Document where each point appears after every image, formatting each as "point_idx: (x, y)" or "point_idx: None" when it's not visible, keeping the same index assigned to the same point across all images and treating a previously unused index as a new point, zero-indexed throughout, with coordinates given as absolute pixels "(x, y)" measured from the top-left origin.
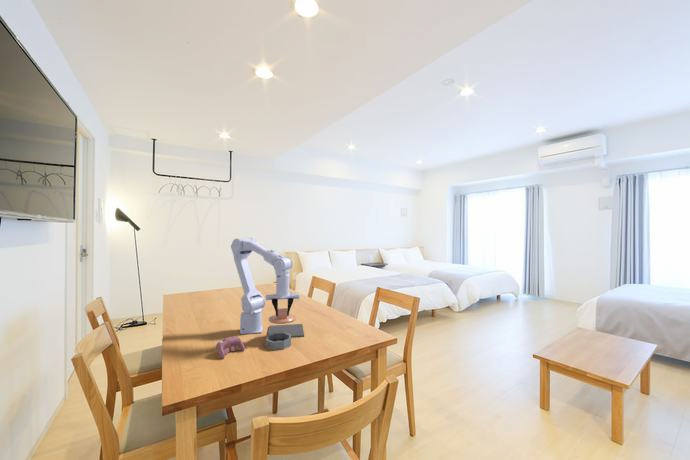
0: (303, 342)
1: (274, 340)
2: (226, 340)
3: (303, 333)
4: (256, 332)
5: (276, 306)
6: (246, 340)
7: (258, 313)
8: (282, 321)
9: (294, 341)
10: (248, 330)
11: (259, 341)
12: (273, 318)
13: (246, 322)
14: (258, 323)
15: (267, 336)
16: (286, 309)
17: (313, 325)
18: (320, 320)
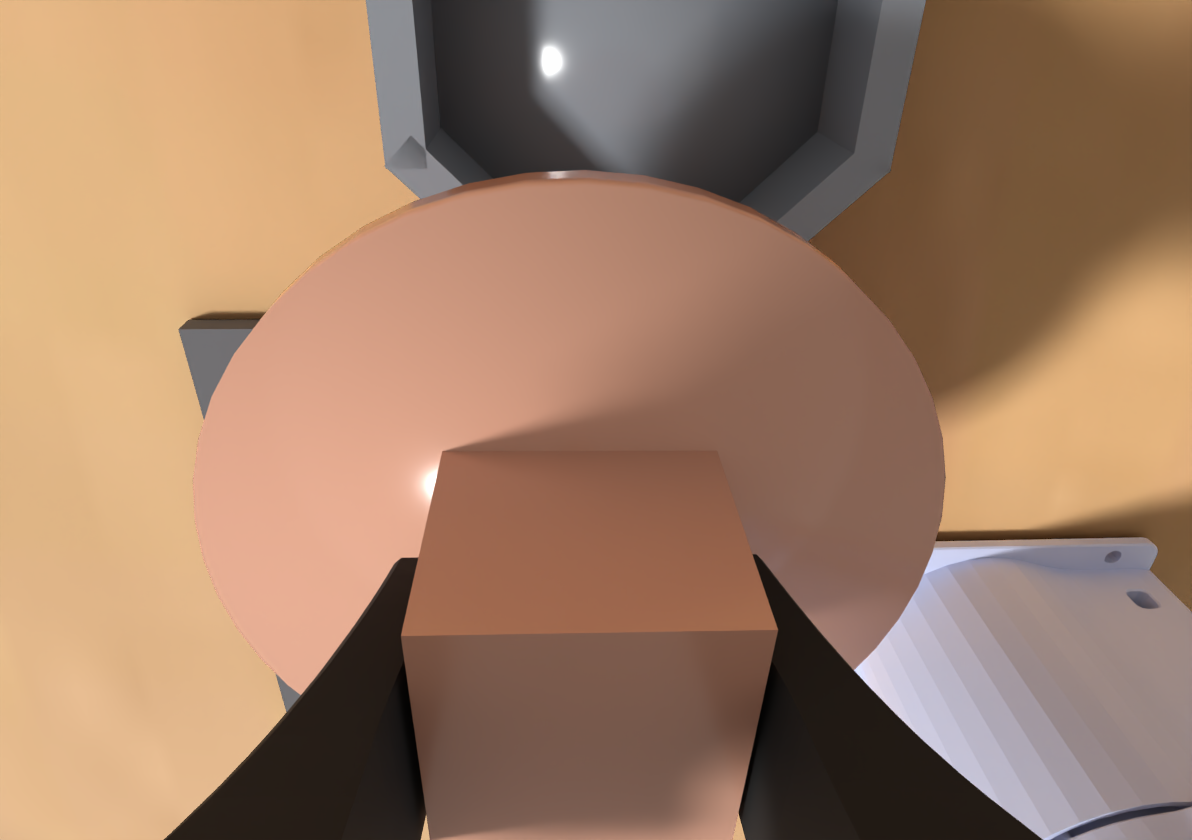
0: (147, 43)
1: (707, 183)
2: None
3: (207, 405)
4: (939, 546)
5: (898, 822)
6: (1121, 320)
7: (1056, 829)
8: (577, 225)
9: (339, 131)
10: (1058, 581)
11: (942, 246)
12: (822, 521)
13: (1167, 678)
14: (959, 668)
15: (876, 151)
16: (445, 760)
17: (124, 688)
18: (60, 813)
